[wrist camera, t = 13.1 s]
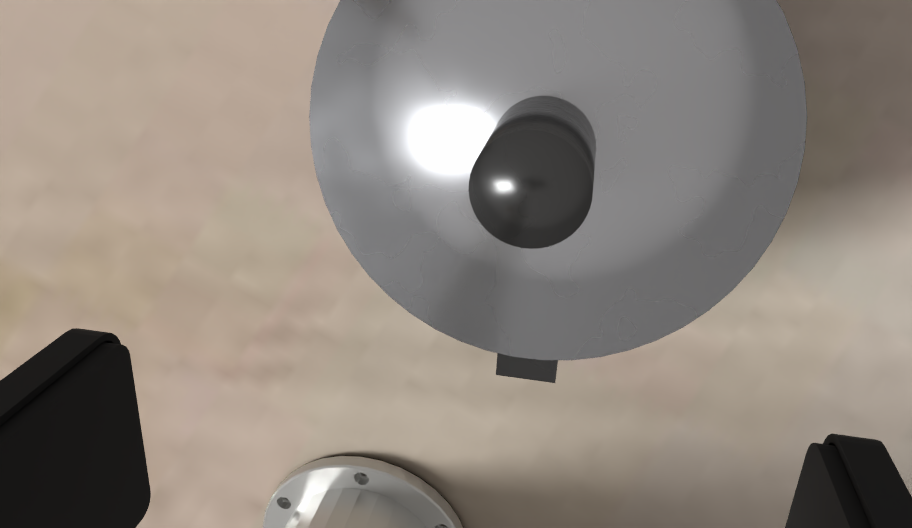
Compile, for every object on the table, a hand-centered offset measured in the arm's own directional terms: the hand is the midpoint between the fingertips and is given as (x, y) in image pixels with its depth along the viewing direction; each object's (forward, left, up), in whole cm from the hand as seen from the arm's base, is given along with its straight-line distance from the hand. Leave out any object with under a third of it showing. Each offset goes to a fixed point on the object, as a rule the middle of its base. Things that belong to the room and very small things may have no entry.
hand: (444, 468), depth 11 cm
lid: (0, 0, -17) cm, 17 cm away
